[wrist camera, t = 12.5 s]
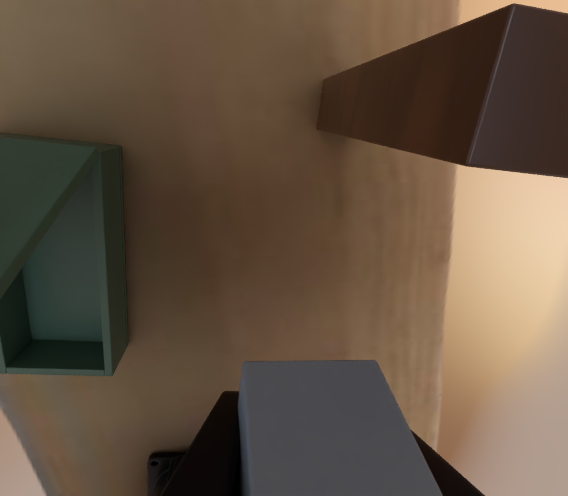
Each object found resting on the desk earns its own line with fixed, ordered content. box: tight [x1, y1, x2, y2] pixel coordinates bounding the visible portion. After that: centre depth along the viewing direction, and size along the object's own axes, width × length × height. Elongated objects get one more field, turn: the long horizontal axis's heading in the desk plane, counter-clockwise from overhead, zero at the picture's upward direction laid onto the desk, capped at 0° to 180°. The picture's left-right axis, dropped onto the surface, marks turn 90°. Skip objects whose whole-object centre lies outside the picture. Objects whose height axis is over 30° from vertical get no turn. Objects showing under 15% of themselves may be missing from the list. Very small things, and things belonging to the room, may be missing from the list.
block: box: [235, 360, 443, 496], centre depth 7 cm, size 3×3×3 cm
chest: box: [0, 133, 128, 376], centre depth 18 cm, size 12×6×3 cm, turn 173°
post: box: [317, 4, 568, 178], centre depth 12 cm, size 2×2×14 cm
